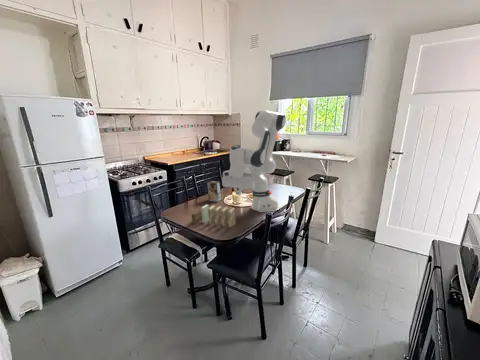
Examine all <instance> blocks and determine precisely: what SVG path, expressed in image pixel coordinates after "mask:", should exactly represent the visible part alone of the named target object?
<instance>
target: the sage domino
mask: <svg viewBox="0 0 480 360" xmlns="http://www.w3.org/2000/svg"><path fill="white" fill-rule="evenodd" d="M209 205H210V204H205V205H203V206H202V208H201V207H200V208H201V211H202V220H201V221H202V222H201V223H202V224H206V223H207V222H209V215H208V208H210V207H209Z"/></svg>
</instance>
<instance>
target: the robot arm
mask: <svg viewBox="0 0 480 360" xmlns="http://www.w3.org/2000/svg"><path fill="white" fill-rule="evenodd" d="M286 119H287V117H286V115H285V114H284V113H280V112H275V111H270V110H261V111H258V112H256V114H255V117H254V121H253V124H252V125H251V133H252V135H254V137H256V138H257V139H259V143H258V145H257V148H256V149H248V148H245V147H244V146H243V145H242V144H236V145H232V146H231V147H230V148H229V163H230V167H229V169H228V170H224V171H223V172H222V178H221V185H222V187H224V188H233V190H234V193H235V195H236V196H237V195H238V196H240V195H242V191H243V190H244V189H247V190H251V191H252V192H251V193H252V195H251V196H252V201H251V202H252V203H251V207H250V208H251V209H252V210H253V211H257V212H259V213H266V212H276V211H277V210H279V209H280V208H281V209H282V205H281V204H280V203H279V202H278V200H277V197H275V196H274V195H272V191H271V190H270V189H268V188H269V187H268V183H269V182H268V179H267V177H266V176H265V175H264V174H272V173H274V171H275V170H276V166H277V164H276V162H275V160H274V158H273V151H274V147H275V144H276V141H277V136H278V132H280V130H282V129H283V128H284V127H285V126H286V123H287V120H286ZM246 169H247V171H248V172H249V173H248V172H246ZM281 209H280V210H281ZM280 210H279V211H280ZM277 212H278V211H277Z"/></svg>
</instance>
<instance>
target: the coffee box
mask: <svg viewBox="0 0 480 360" xmlns="http://www.w3.org/2000/svg"><path fill="white" fill-rule="evenodd" d="M207 193H208V202H216V203H218V202H220V201H221V199H222V195H221V182H220V181H216V180H215V181H213V180H209V181H208V182H207Z"/></svg>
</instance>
